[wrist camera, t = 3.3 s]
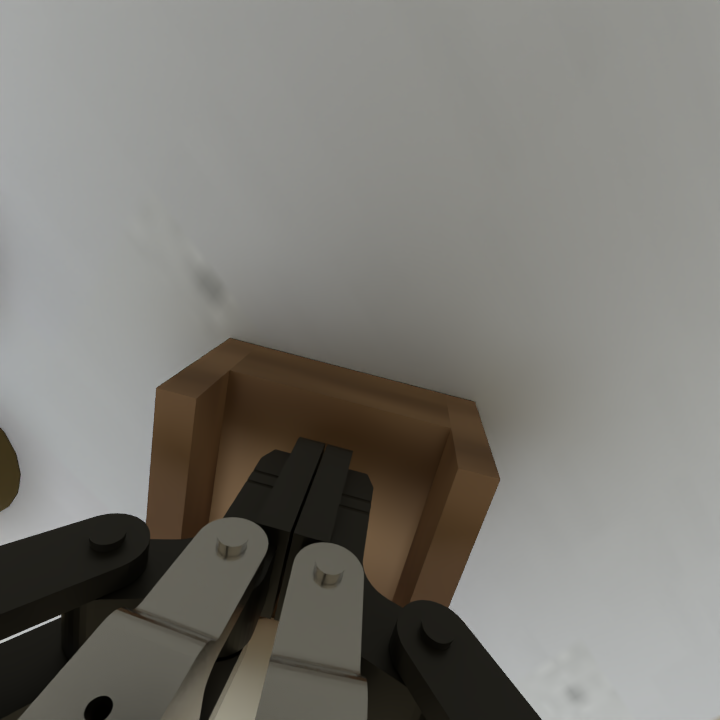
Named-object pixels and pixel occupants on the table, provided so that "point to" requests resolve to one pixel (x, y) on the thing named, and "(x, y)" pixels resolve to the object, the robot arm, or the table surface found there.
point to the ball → (250, 675)
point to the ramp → (330, 426)
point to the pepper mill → (8, 472)
